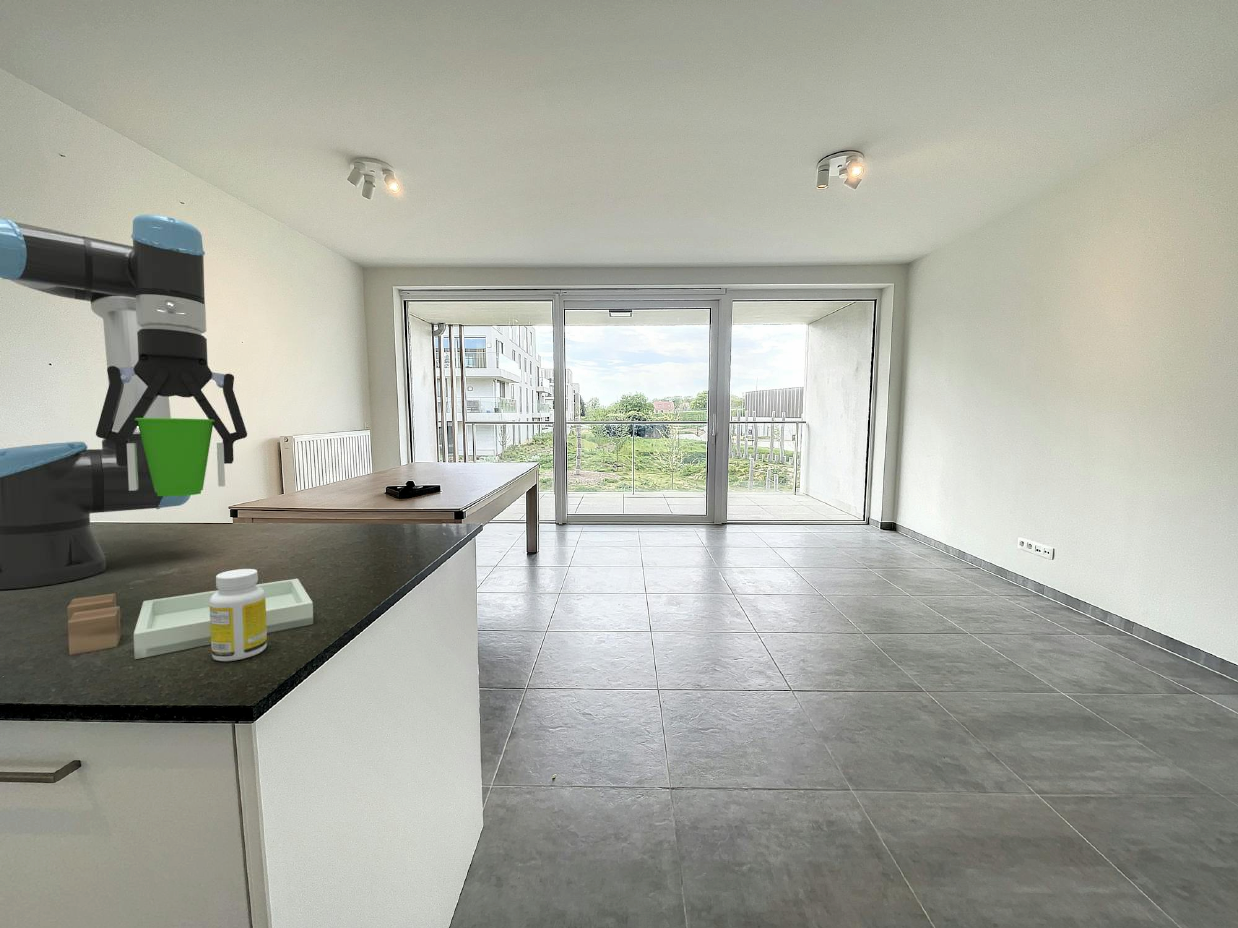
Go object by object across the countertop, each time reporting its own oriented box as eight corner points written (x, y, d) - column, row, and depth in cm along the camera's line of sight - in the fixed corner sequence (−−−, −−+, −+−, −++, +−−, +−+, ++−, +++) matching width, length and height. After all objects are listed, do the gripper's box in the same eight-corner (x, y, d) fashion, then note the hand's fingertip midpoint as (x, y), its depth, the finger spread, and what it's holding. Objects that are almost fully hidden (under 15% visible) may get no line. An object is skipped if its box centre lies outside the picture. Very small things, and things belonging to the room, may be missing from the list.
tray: (144, 622, 70) (143, 601, 70) (298, 596, 81) (297, 578, 81) (134, 659, 59) (133, 634, 59) (313, 623, 70) (312, 602, 70)
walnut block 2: (76, 644, 63) (74, 612, 63) (121, 636, 65) (119, 606, 65) (69, 655, 60) (67, 622, 60) (116, 647, 62) (115, 615, 62)
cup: (171, 499, 69) (167, 417, 68) (119, 496, 71) (115, 418, 70) (234, 491, 78) (231, 420, 77) (186, 490, 80) (183, 420, 79)
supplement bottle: (268, 639, 65) (266, 564, 64) (266, 656, 61) (263, 575, 60) (214, 648, 62) (211, 570, 62) (208, 666, 58) (205, 582, 57)
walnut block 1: (74, 628, 68) (73, 598, 67) (116, 621, 70) (115, 593, 70) (68, 638, 65) (67, 607, 64) (113, 630, 67) (111, 601, 67)
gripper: (55, 315, 63) (65, 495, 64) (267, 337, 77) (271, 485, 78) (67, 325, 69) (76, 489, 70) (262, 344, 83) (267, 481, 84)
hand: (179, 487), depth 74 cm, fingers closed on cup, 9 cm apart
